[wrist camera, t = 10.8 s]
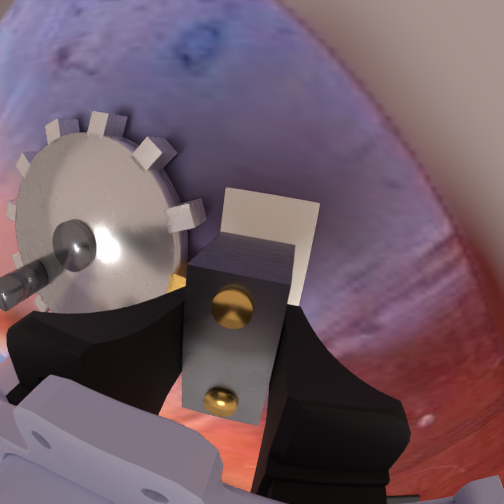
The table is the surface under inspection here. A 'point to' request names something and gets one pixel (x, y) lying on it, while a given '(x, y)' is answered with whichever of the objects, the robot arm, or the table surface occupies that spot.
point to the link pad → (274, 225)
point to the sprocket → (97, 221)
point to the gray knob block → (234, 324)
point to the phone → (402, 499)
